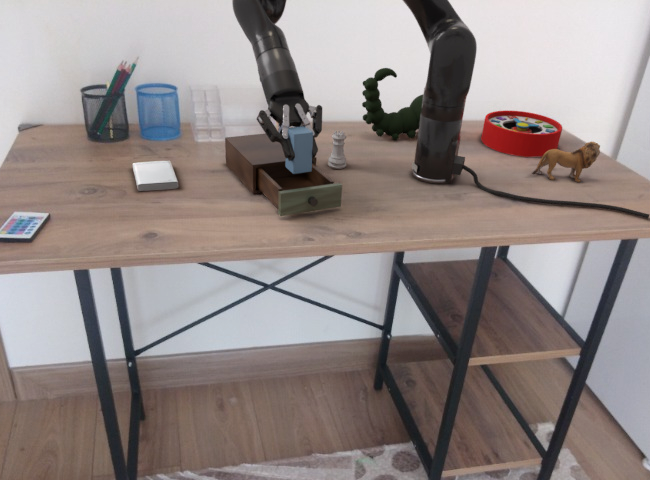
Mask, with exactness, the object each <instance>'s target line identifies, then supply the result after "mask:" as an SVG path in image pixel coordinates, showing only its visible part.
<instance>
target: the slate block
mask: <svg viewBox="0 0 650 480" xmlns="http://www.w3.org/2000/svg"><path fill="white" fill-rule="evenodd" d="M288 133H289V137H288V139H290V140H291V144H292V147H293V150H294V153H295V158H294V159H293V161H289V160H288V158H286V163H285V167H286V168H287V169H288V170H290V171H291V172H292V173H293V174H297V173H304V172H311V171H312V147H313V132H312V131H310V130H309V129H308V128H306V127H304V126H300V127H293V126H291V127H289V129H288Z"/></svg>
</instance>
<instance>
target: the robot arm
mask: <svg viewBox="0 0 650 480" xmlns="http://www.w3.org/2000/svg"><path fill="white" fill-rule="evenodd" d="M231 1H232V3H231V4H232V11H233V13H234V17H235V19H236V21H237V23H238V25H239V26H240V28H241V30H242V32H243V34H244V36H245V37H246V39H247V40H248V42H249V43H250V45H251V47H252V52H253V56H254V59H255V62H256V66H257V73H258V77H259V82H260V84H261V87H262V90H263V91H262V92H263V94H264V97H265V100H266V101H265V102H266V104H267V109H266V110H264V109H261V110H259V113H258V114H257V116H256V121H257V122H258V125H259V126H260V128H261V129H262V130H263V132H264V134H265V133H266V135H267V136H268V138H269V139H270V141H271V142H275V141H276V142H279V143H280V144H281V145H282V149H283V152H284V156H285V157H286V158H288V160H289V161H293V159H294V158H295V153H294V150H293V147H292V144H291V140H290V139H288V137H289V133H288V129H289V128H291V127H300V126H304V127H306V128H308V129H309V130H310V131H312V132H313V147H312V158H314V157H317V154H318V152H319V147H318V144H317V141H316V138H318V137H319V135H320V133H322V131H323V106H322V105H320V104H318V105H317V106H313V105H309V103H308V101H307V100H306V99H305V93H304V90H303V86H302V83H301V79H300V76H299V73H298V70H297V67H296V64H295V61H294V59H293V56H292V53H291V51H290V48H289V44H288V41H287V38H286V35H285V32H284V31H283V30H282V28H281V27H279V26H278V25H277V23H278V22H279V21H280V20H281V19H282V17H283V14H284V12H285V9H286V5H287V0H231ZM402 2H403V3H404V4H405V6H406V7H408V9H409V10H410V13H412V15H413V17H414V19H415V20H416V22H417V25H418V26H419V28H420V29H419V30H420V31H421V33H422V35H423V37H424V40H425V43H426V44H427V47H428V51H429V53H430V55H429V64H428V69H427V78H426V82H425V86H424V88H423V92H422V94H423V101H422V108H421V116H420V123H419V130H418V131H417V139H416V146H415V152H414V153H415V155H414V161H412V164H411V168H412V171H411V173H412V176H413V178H414V179H417V180H418V181H420V182H424V183H428V184H435V185H436V184H437V185H438V184H439V185H440V184H451V183H452V181H453V180H454V176H461V175H462V173H463V170H464V171H466V172H467V173H468V174H470V175H471V176H472V179H473V182H474V184H475V186H476V187H477V188H478V189H480V190H482V191H484V192H487V193H489V194H492V195H495V196H501V197H504V198H507V199H513V200H517V201H523V202H529V203H536V204H545V205H553V206H555V205H556V206H568V207H569V206H571V207H582V208H594V209H603V210H609V211H615V212H620V213H625V214H629V215H632V216H636V217H640V218H644V219H648V220H649V218H650V213H645V212H641V211H638V210H634V209H629V208H625V207H621V206H616V205H610V204H604V203H595V202H594V203H593V202H584V201H574V200H573V201H572V200H559V199H545V198H537V197H529V196H524V195H518V194H513V193H509V192H505V191H500V190H494V189H490V188H488V187H486V186H484V185H483V184H481V182H479V177H478V174H477V173H476V172H475V171H474V170H473V169H472V168H470V167H469V166H467V165H465V161H466V157H465V156H461V155H459V150H460V144H461V138H462V135H461V131H462V125H463V118H464V113H465V107H466V102H467V97H468V94H469V92H470V88H471V84H472V79H473V74H474V69H475V63H476V59H477V51H478V50H477V49H478V46H477V44H478V43H477V40H476V36H475V34H474V33H473V32H472V31H471V29H470V28H469V26H468V25H467V24H466V23H465V22H464V21H463V20H462V18H461V17H460V16H459V14H458V13H457V11H456V10H455V8H454V7H453V5H452V3H451V2H450V1H449V0H402ZM308 113H309V116H310V119H312V126H311V122H310V119H309V118H308V117H307V115H308ZM272 119H273V120H274V121H275V122H276V123H277V125H278V126H277V128H278V129H277V128H276V126H275V125H274V123H273V122H272Z"/></svg>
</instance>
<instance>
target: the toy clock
mask: <svg viewBox="0 0 650 480" xmlns="http://www.w3.org/2000/svg"><path fill="white" fill-rule="evenodd" d="M562 131H563V126H562V124H561V123H560V122H558V121H557V120H555V119H553V118H551V117H548V116H545V115H542V114H539V113H534V112H529V111H523V110H522V111H521V110H495V111H491V112H489V113H487V114H486V115H485V117H484V122H483V127H482V132H481V137H480V140H481V142H482V144H483V145H484V146H486V147H487V148H489V149H492V150H494V151H496V152H499V153H503V154H507V155H511V156H517V157H524V158H542V156H543V155H544V154H545V153H546V152H547V151H548V150H551V149H558V147H559V143H560V139H561V135H562Z"/></svg>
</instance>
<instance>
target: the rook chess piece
mask: <svg viewBox="0 0 650 480" xmlns="http://www.w3.org/2000/svg"><path fill="white" fill-rule="evenodd" d="M345 134H346V133H345V132H344V131H341V130H334V131H333V134H332V135H331V138H332V140H333V141H332V151H331V154H330V156H329V157H328V159H327V161H328V162H327V165H328V167H329V168H331V169H334V170H342V169H345V168H346V167H347V158H346V156H345V153H344V152H345V151H344V146H345V139H347V136H346V135H345Z"/></svg>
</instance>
